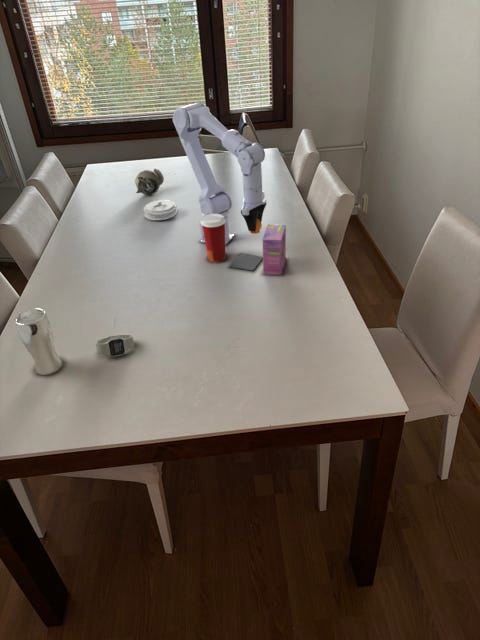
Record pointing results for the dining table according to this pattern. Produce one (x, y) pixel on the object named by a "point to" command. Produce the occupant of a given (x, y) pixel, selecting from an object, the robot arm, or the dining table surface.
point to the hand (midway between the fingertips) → (254, 227)
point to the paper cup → (214, 236)
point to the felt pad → (246, 262)
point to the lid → (160, 210)
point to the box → (274, 249)
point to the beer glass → (38, 340)
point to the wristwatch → (115, 344)
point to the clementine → (257, 227)
